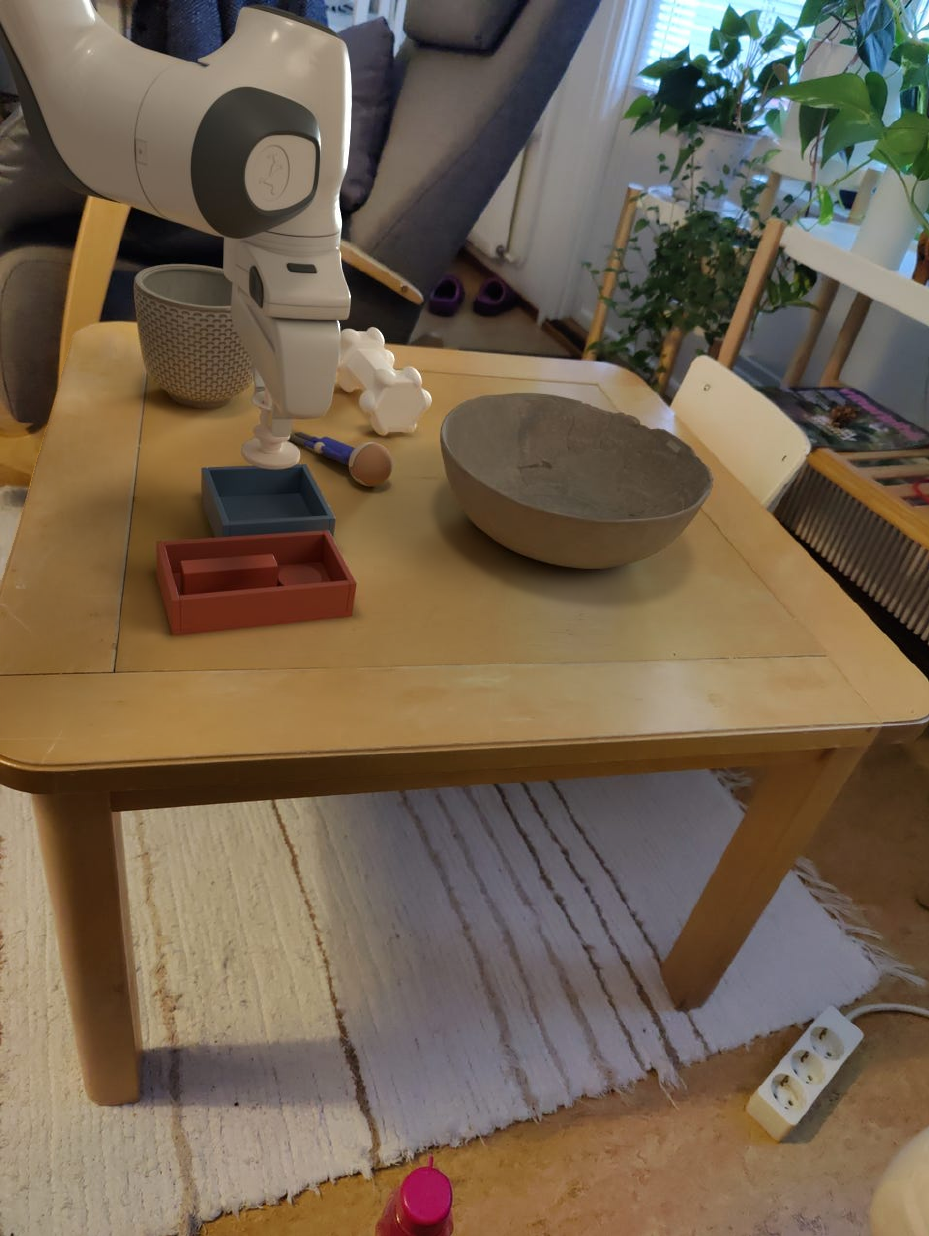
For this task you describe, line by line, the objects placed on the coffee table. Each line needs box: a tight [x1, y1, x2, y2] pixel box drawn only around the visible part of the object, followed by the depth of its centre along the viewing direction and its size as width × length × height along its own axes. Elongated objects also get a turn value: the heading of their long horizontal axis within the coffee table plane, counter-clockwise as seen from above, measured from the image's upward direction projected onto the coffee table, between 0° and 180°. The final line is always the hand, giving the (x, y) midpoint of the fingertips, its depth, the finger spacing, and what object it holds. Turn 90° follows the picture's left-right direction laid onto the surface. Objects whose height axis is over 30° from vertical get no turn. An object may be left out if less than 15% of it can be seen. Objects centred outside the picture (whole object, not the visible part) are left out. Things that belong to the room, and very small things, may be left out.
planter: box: [133, 263, 254, 410], centre depth 98 cm, size 14×14×13 cm
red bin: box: [155, 530, 357, 637], centre depth 73 cm, size 15×8×4 cm, turn 114°
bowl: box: [439, 392, 714, 570], centre depth 90 cm, size 28×28×10 cm
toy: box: [288, 431, 394, 487], centre depth 95 cm, size 5×5×15 cm
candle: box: [240, 385, 301, 470], centre depth 76 cm, size 5×5×10 cm
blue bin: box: [200, 463, 337, 539], centre depth 82 cm, size 10×10×4 cm
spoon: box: [180, 554, 322, 595], centre depth 73 cm, size 12×4×3 cm, turn 113°
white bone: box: [336, 326, 433, 437], centre depth 105 cm, size 15×9×8 cm, turn 26°
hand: (272, 419), depth 77 cm, fingers closed on candle, 4 cm apart
